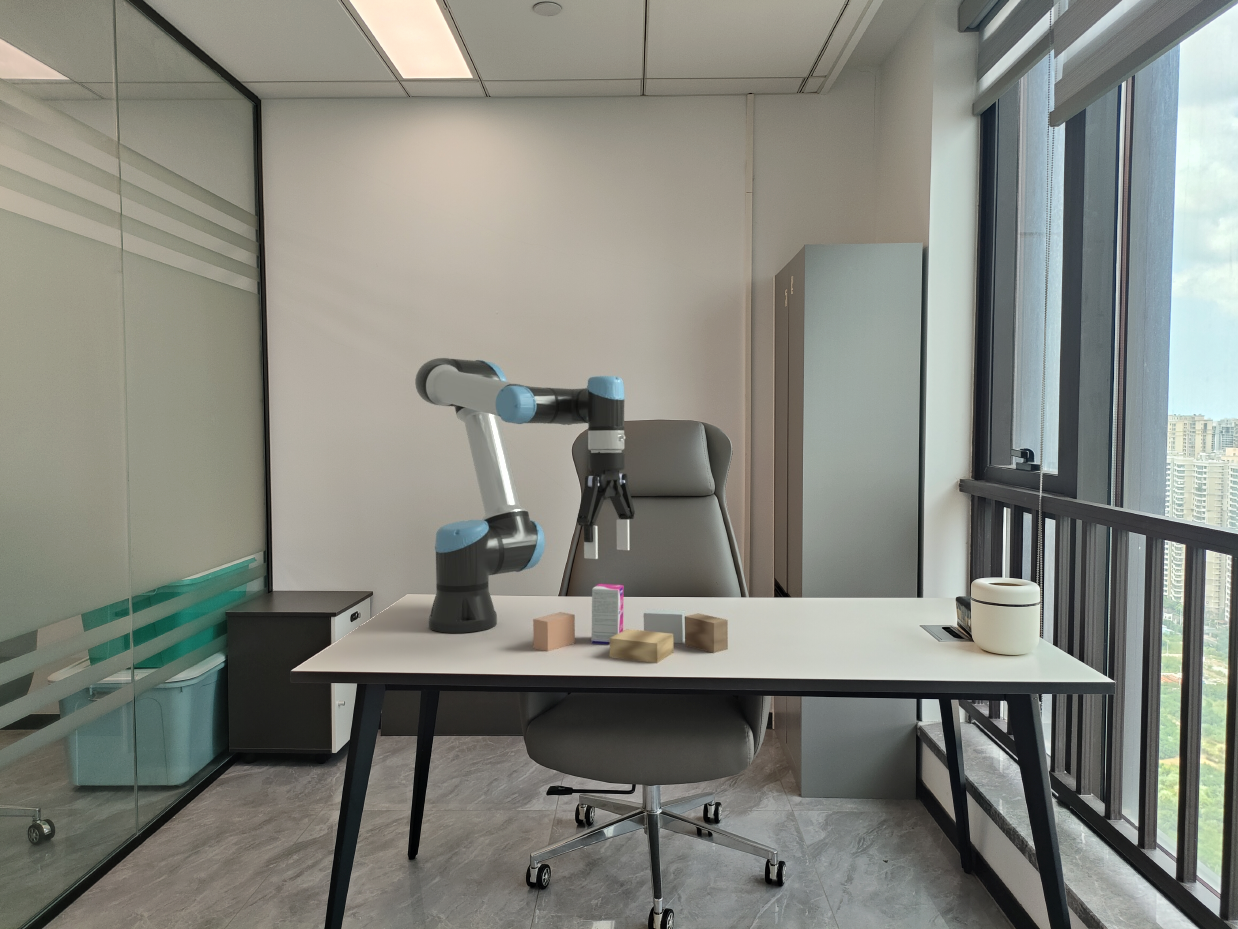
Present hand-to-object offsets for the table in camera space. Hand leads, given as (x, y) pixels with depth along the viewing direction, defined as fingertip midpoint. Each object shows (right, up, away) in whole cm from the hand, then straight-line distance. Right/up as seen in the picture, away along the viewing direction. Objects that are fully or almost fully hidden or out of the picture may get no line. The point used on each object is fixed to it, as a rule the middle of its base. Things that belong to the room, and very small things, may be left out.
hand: (607, 554), depth 162 cm
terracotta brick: (-11, -18, -3) cm, 22 cm away
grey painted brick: (+12, -18, +1) cm, 22 cm away
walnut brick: (+20, -18, -5) cm, 27 cm away
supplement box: (0, -18, +1) cm, 18 cm away
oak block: (+7, -19, -10) cm, 22 cm away
